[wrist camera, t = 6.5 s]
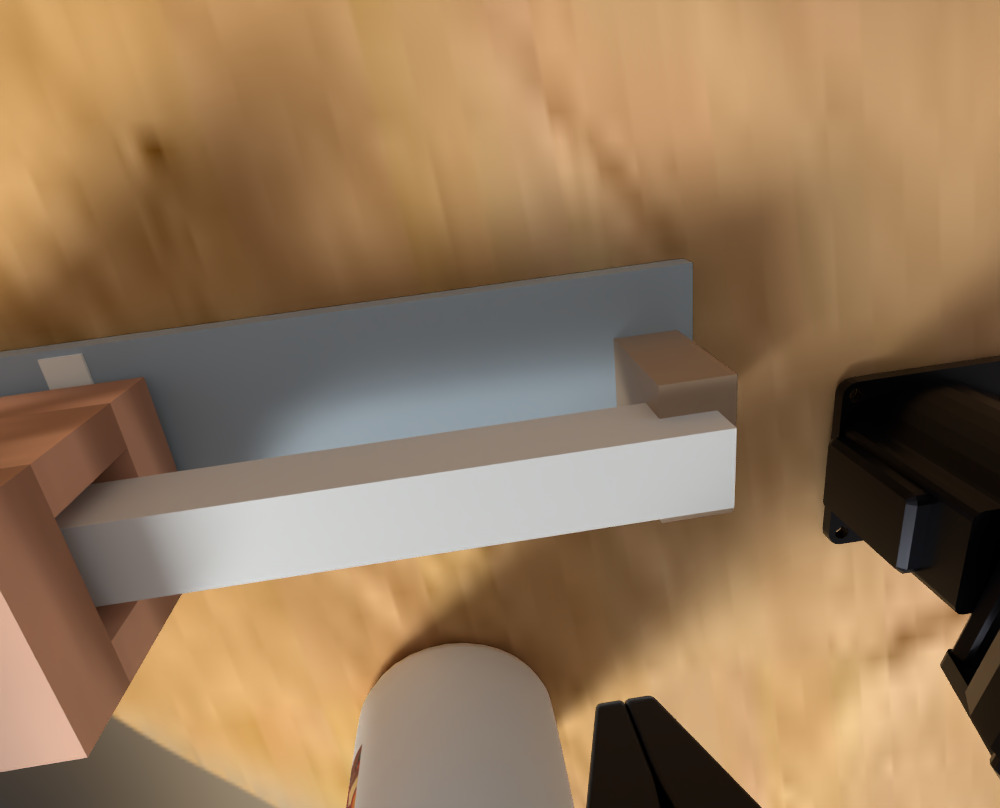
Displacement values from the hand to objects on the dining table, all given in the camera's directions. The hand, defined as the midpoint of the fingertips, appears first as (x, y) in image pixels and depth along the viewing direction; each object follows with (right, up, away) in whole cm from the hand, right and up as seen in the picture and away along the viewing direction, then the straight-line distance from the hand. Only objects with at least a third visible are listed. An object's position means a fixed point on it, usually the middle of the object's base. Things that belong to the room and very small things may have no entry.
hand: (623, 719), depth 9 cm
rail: (-8, +4, +11) cm, 14 cm away
